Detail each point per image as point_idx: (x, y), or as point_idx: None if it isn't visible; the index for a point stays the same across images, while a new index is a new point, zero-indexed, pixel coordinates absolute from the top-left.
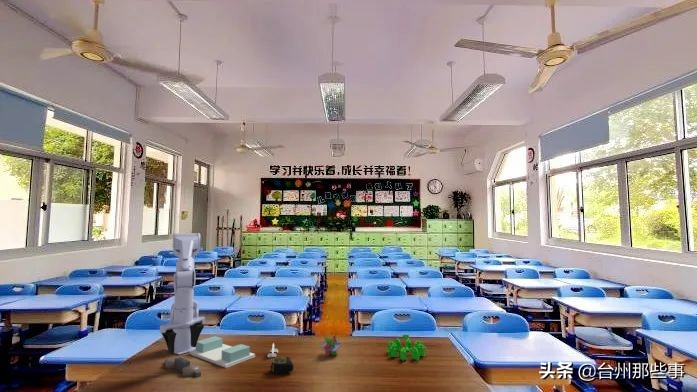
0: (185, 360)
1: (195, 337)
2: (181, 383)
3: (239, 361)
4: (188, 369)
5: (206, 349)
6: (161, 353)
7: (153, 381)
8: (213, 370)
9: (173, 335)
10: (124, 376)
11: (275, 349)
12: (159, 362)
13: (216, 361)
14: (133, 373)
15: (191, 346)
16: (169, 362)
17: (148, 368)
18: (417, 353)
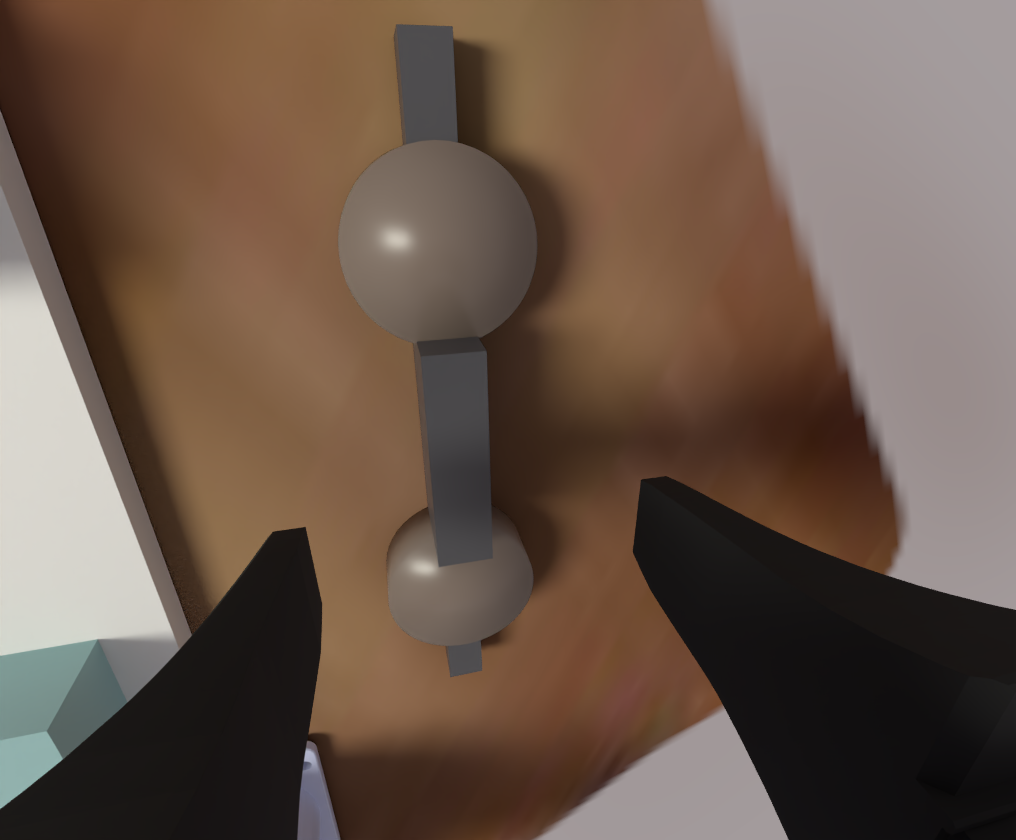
0: (445, 422)
1: (263, 656)
2: (643, 44)
3: None
4: (496, 213)
5: (35, 670)
6: (399, 821)
7: (734, 343)
8: (172, 67)
9: (985, 638)
10: None
11: None
12: (495, 678)
13: (30, 257)
14: None
15: (318, 594)
16: (519, 558)
17: (604, 617)
18: None
